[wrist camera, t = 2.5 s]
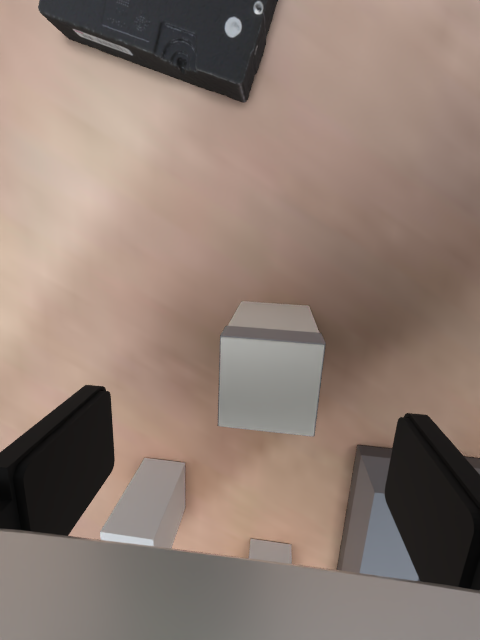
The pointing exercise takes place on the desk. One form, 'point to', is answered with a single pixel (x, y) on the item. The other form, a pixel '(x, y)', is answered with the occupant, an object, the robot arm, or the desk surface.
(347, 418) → the desk surface
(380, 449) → the holder
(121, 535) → the pale grey post pair
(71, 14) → the disk drive
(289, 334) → the block
